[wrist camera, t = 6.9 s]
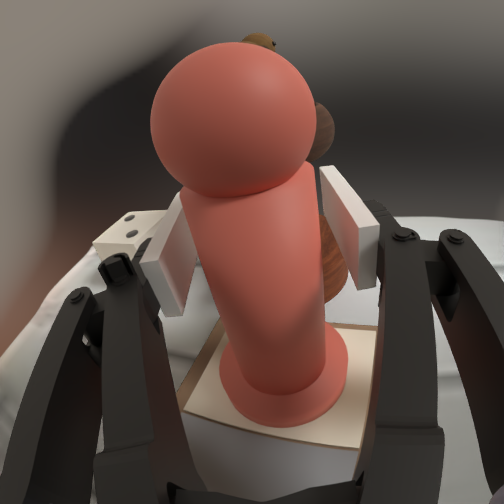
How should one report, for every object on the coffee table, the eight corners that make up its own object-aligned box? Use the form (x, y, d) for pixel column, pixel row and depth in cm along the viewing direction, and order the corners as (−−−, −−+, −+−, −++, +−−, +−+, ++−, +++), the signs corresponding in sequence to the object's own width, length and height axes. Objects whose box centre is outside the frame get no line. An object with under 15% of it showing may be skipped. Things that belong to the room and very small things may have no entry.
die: (147, 257, 34) (128, 211, 30) (188, 260, 31) (170, 208, 28) (116, 290, 29) (91, 241, 26) (158, 297, 27) (133, 242, 24)
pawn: (250, 322, 20) (183, 66, 11) (354, 334, 17) (340, 36, 9) (207, 410, 15) (57, 93, 6) (333, 438, 12) (311, -2, 3)
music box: (354, 332, 19) (293, -1, 9) (212, 332, 23) (101, 76, 13) (352, 222, 31) (314, 34, 21) (257, 232, 35) (204, 63, 25)
